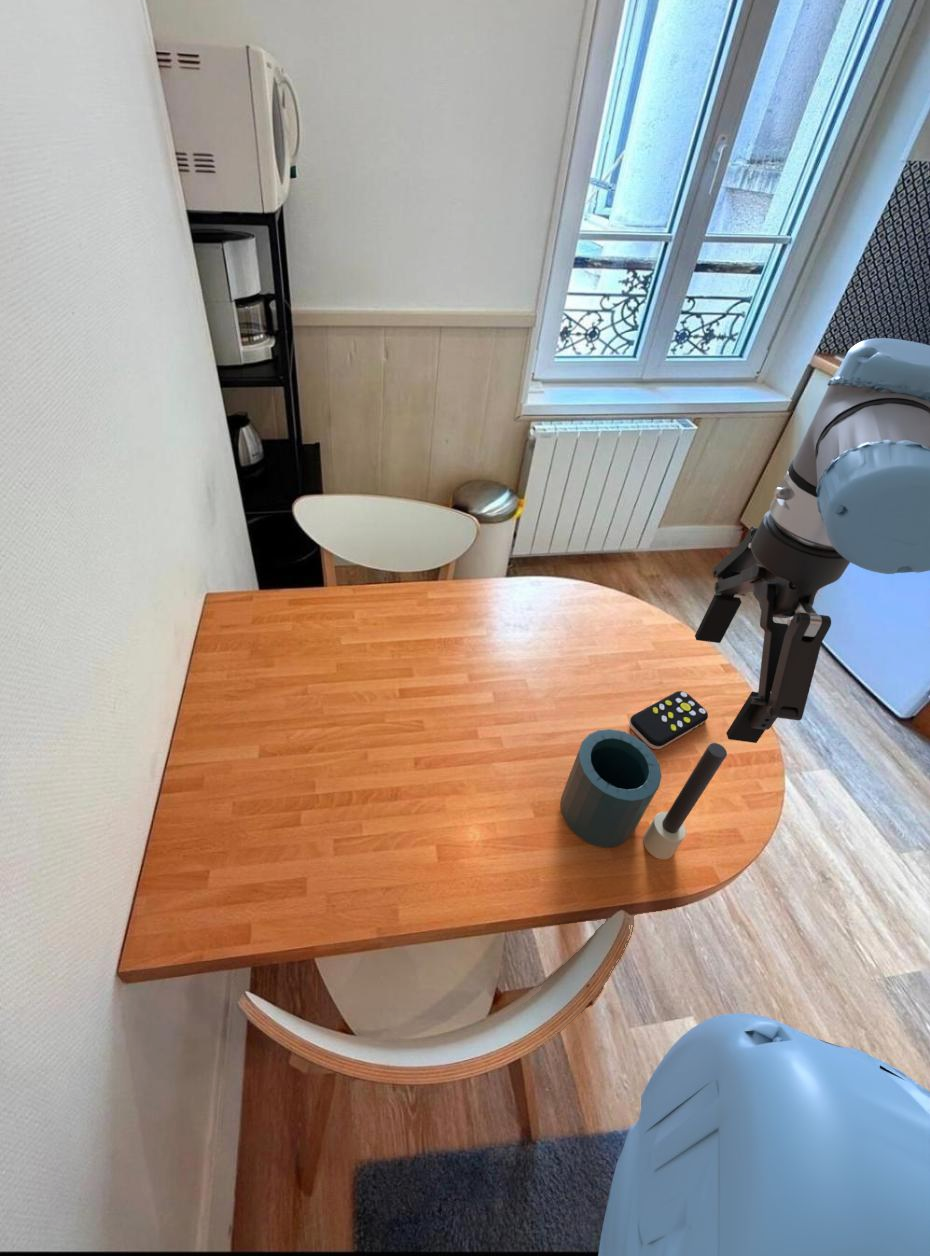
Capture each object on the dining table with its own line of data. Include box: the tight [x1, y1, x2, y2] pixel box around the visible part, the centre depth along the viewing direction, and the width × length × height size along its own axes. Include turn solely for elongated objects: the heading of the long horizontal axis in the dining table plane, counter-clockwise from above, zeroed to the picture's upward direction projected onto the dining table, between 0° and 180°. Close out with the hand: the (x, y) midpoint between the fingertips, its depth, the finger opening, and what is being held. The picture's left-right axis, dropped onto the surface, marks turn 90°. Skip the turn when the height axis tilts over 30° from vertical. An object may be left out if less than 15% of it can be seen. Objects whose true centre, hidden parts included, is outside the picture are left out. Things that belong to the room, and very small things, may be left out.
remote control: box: [628, 690, 709, 750], centre depth 97 cm, size 6×13×2 cm, turn 120°
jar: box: [560, 728, 662, 849], centre depth 81 cm, size 10×10×12 cm
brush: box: [642, 742, 728, 860], centre depth 75 cm, size 4×4×22 cm
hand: (722, 685), depth 66 cm, fingers open, 13 cm apart
